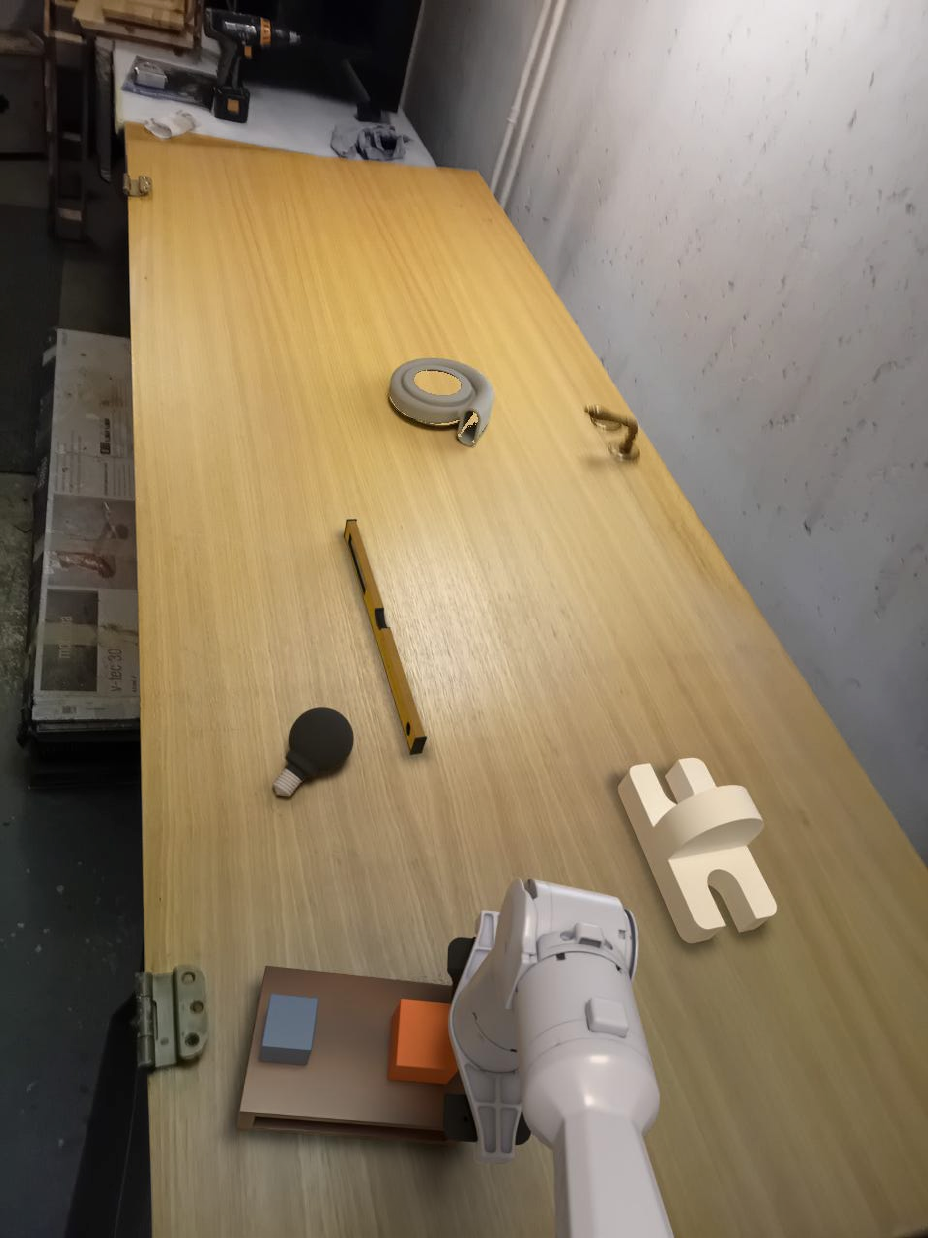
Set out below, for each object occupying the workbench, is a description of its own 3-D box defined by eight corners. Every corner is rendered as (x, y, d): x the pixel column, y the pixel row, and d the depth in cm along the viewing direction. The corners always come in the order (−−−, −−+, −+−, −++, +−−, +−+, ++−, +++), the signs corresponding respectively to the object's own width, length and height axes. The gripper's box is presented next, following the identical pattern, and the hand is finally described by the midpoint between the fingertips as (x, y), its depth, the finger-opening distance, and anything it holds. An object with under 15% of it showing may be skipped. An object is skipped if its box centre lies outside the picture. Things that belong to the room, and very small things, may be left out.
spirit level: (421, 753, 87) (427, 737, 85) (410, 754, 87) (415, 739, 84) (353, 535, 107) (356, 518, 105) (343, 536, 106) (346, 519, 104)
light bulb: (249, 771, 76) (317, 688, 80) (252, 778, 82) (315, 701, 86) (304, 813, 76) (369, 728, 80) (302, 817, 82) (363, 738, 86)
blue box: (306, 1066, 60) (311, 1051, 57) (258, 1061, 59) (261, 1046, 56) (313, 1015, 62) (319, 998, 59) (267, 1010, 62) (270, 993, 59)
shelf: (456, 1146, 64) (474, 1130, 60) (236, 1129, 61) (238, 1112, 57) (460, 1010, 71) (476, 987, 66) (261, 990, 68) (265, 965, 64)
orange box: (446, 1084, 61) (458, 1071, 58) (387, 1079, 61) (396, 1065, 58) (448, 1020, 64) (460, 1004, 61) (392, 1015, 64) (401, 998, 61)
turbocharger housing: (412, 375, 137) (372, 416, 127) (416, 339, 133) (375, 378, 123) (504, 409, 135) (472, 453, 125) (512, 373, 130) (479, 416, 120)
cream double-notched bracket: (687, 773, 94) (731, 720, 86) (763, 927, 83) (821, 882, 75) (614, 783, 90) (652, 729, 83) (683, 945, 79) (735, 900, 72)
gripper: (590, 1147, 45) (520, 1186, 54) (570, 891, 54) (514, 963, 64) (464, 1139, 43) (416, 1180, 53) (467, 879, 53) (426, 954, 63)
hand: (463, 1061), depth 59 cm, fingers open, 7 cm apart
